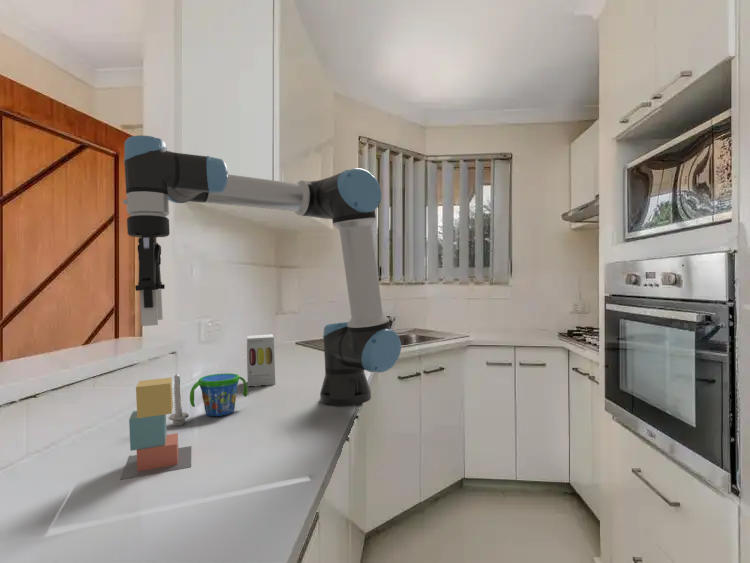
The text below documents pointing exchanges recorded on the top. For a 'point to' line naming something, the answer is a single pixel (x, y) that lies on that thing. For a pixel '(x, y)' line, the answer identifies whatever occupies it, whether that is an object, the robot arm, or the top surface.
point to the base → (133, 465)
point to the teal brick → (147, 431)
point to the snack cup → (218, 393)
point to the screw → (178, 404)
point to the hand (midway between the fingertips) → (152, 322)
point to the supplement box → (260, 360)
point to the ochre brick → (154, 397)
